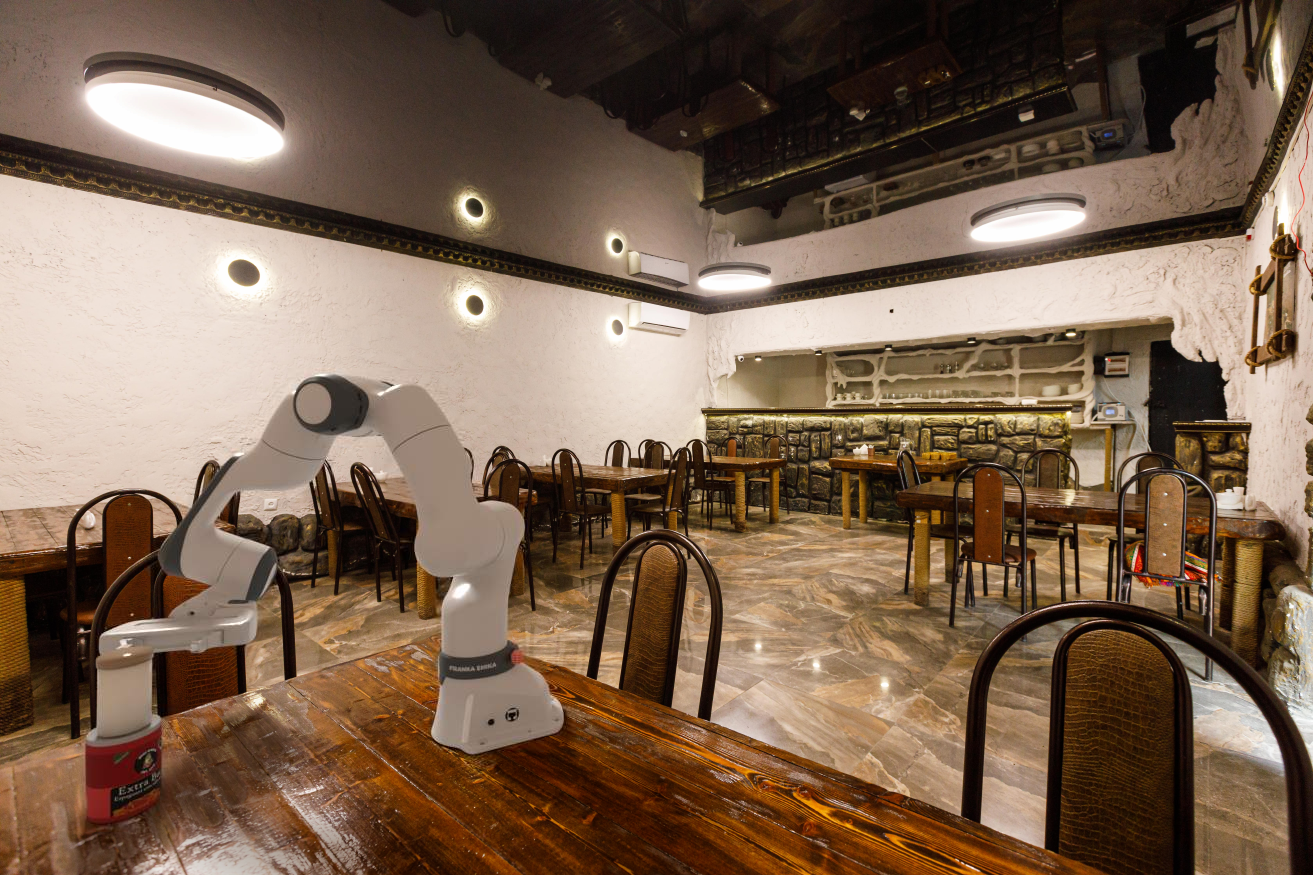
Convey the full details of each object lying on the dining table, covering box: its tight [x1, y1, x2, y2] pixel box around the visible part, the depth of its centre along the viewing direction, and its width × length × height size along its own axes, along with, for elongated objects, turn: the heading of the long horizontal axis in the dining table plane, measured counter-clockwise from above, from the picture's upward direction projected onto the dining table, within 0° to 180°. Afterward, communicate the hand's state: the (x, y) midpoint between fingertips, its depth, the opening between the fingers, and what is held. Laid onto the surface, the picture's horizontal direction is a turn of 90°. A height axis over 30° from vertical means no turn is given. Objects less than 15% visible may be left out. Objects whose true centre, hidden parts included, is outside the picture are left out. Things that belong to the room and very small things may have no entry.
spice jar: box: [95, 646, 155, 737], centre depth 78 cm, size 6×6×10 cm
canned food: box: [84, 713, 163, 824], centre depth 78 cm, size 8×8×11 cm
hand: (159, 651), depth 87 cm, fingers open, 8 cm apart
